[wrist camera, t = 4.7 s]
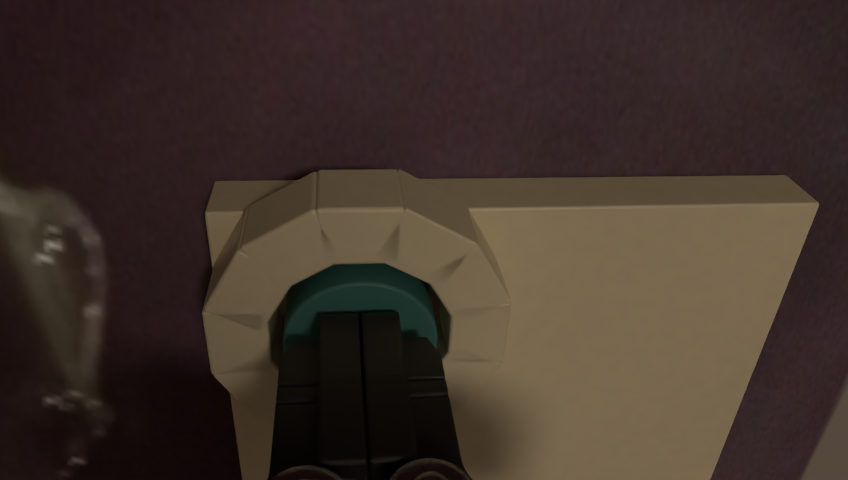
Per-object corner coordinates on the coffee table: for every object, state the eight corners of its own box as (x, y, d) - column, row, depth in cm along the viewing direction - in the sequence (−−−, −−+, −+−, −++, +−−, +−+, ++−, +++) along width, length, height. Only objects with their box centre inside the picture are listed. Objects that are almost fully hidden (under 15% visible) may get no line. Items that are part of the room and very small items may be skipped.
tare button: (432, 236, 14) (442, 281, 13) (425, 348, 16) (433, 398, 15) (282, 239, 14) (277, 285, 13) (291, 353, 15) (286, 405, 14)
